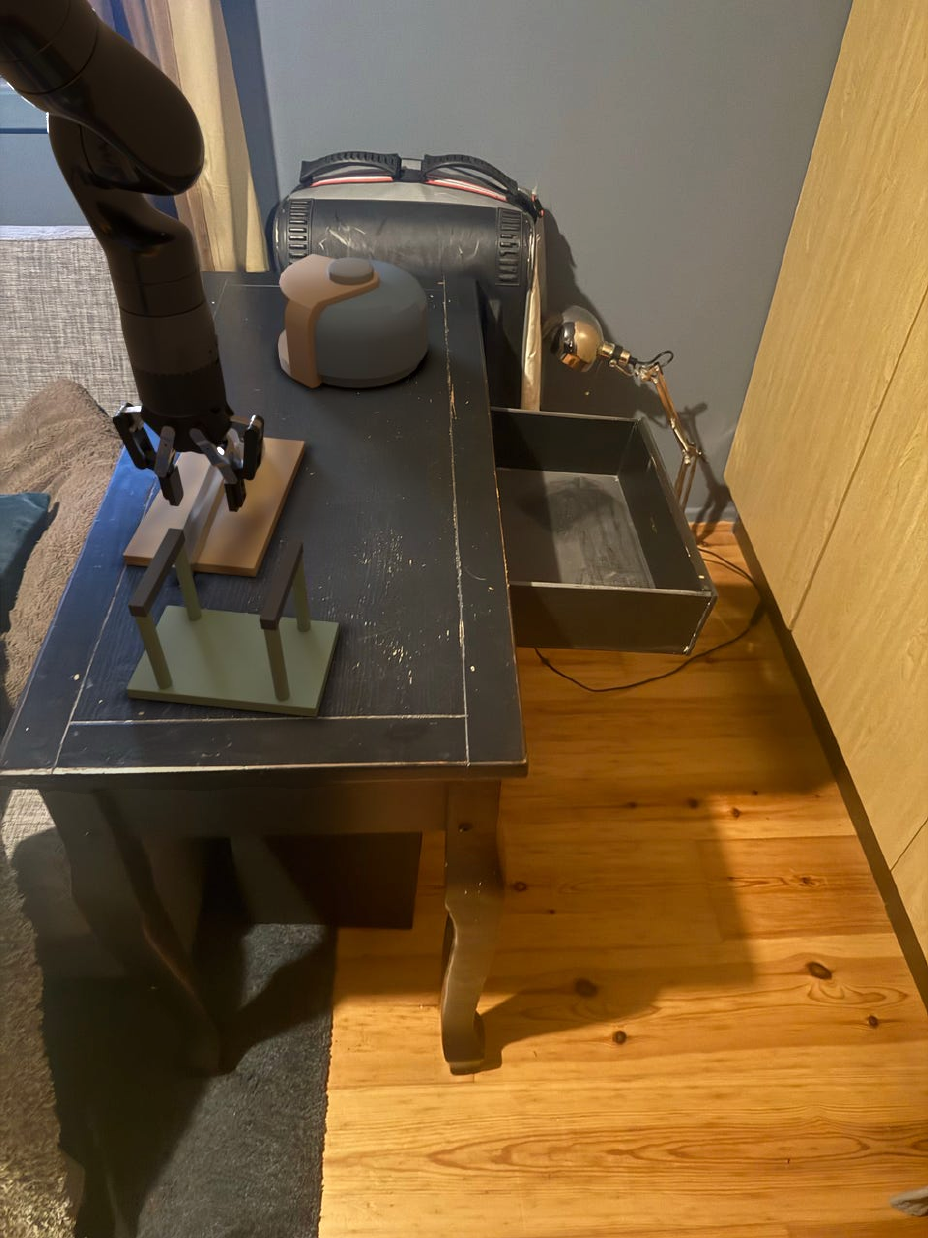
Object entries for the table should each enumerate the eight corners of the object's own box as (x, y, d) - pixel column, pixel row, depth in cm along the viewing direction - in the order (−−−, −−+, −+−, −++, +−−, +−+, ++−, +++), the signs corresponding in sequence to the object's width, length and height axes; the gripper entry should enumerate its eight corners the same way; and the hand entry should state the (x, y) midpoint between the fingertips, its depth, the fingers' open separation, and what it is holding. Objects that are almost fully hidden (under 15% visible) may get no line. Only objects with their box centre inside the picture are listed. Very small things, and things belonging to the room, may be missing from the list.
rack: (129, 697, 69) (93, 605, 61) (169, 614, 76) (142, 521, 68) (316, 717, 69) (305, 627, 61) (339, 631, 76) (332, 540, 68)
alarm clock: (278, 324, 116) (268, 236, 108) (418, 320, 119) (419, 234, 111) (280, 395, 103) (268, 302, 95) (437, 388, 106) (440, 297, 98)
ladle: (215, 591, 79) (208, 570, 77) (153, 586, 79) (145, 564, 77) (270, 436, 94) (266, 414, 91) (218, 432, 94) (213, 410, 91)
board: (124, 564, 80) (121, 555, 80) (196, 439, 96) (194, 430, 95) (255, 577, 80) (254, 568, 79) (305, 449, 95) (305, 441, 95)
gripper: (73, 362, 68) (123, 520, 81) (243, 378, 68) (267, 534, 80) (108, 321, 74) (150, 475, 86) (266, 336, 73) (286, 488, 85)
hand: (207, 503), depth 83 cm, fingers open, 5 cm apart
